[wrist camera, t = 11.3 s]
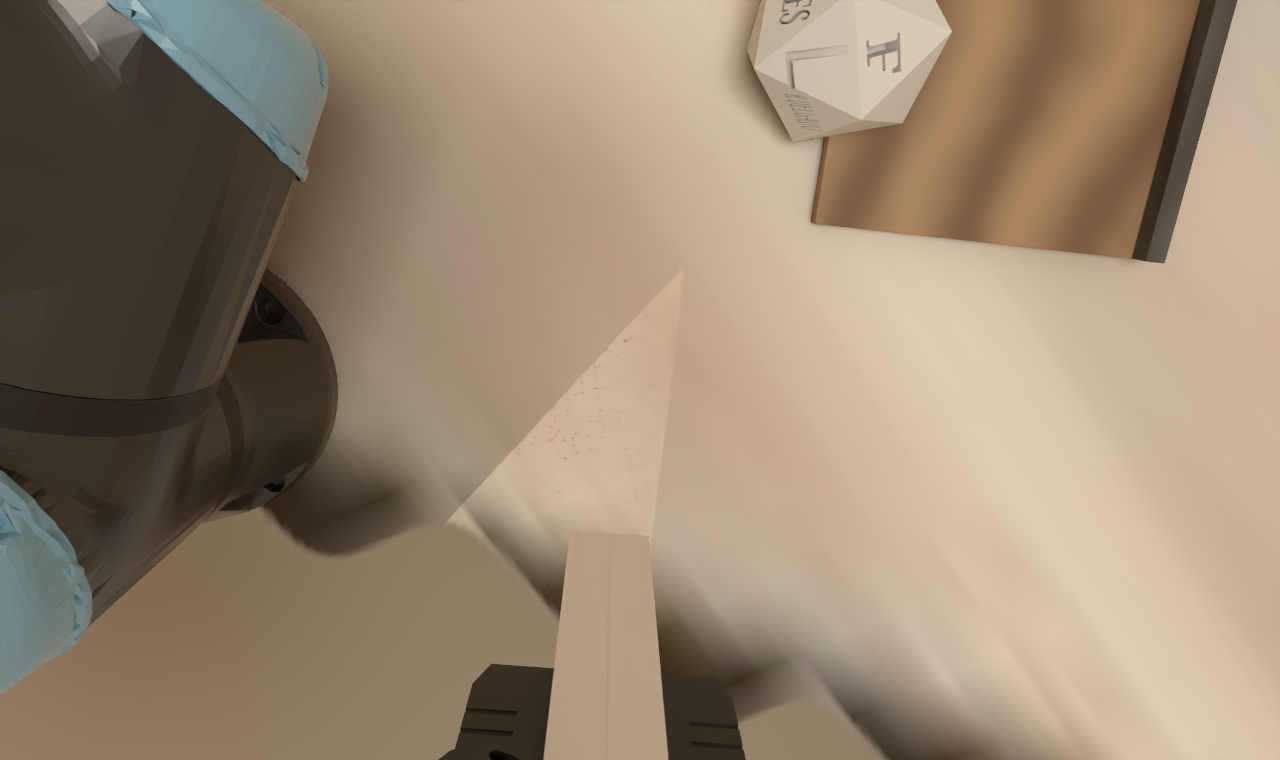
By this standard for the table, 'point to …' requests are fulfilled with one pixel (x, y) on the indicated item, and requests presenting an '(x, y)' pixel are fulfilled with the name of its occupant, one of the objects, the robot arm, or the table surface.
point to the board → (1041, 129)
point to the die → (844, 61)
